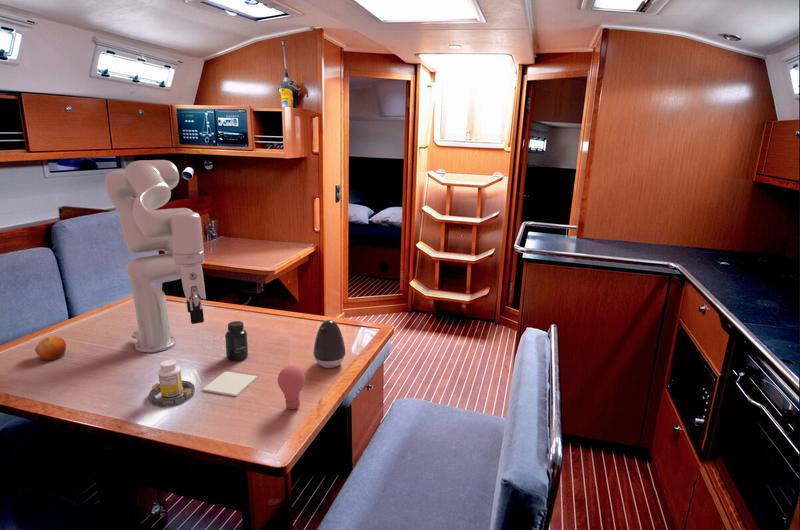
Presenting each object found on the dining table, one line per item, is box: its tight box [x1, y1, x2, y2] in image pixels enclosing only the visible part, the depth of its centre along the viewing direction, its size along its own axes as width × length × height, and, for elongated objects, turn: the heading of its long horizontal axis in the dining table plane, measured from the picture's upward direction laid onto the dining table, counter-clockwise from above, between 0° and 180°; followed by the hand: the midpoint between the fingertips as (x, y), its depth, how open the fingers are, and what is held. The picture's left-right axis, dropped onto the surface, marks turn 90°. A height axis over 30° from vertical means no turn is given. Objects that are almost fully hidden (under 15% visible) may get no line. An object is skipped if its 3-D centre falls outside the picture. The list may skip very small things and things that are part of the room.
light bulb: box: [277, 365, 306, 410], centre depth 126 cm, size 7×7×12 cm
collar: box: [147, 380, 196, 408], centre depth 131 cm, size 11×11×2 cm
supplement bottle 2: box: [224, 320, 249, 362], centre depth 154 cm, size 7×7×12 cm
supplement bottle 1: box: [157, 359, 184, 400], centre depth 130 cm, size 6×6×10 cm
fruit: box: [34, 335, 67, 361], centre depth 152 cm, size 8×8×8 cm
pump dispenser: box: [313, 319, 346, 369], centre depth 150 cm, size 10×10×15 cm
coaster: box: [202, 371, 258, 397], centre depth 138 cm, size 11×11×1 cm
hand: (195, 317), depth 131 cm, fingers open, 9 cm apart
